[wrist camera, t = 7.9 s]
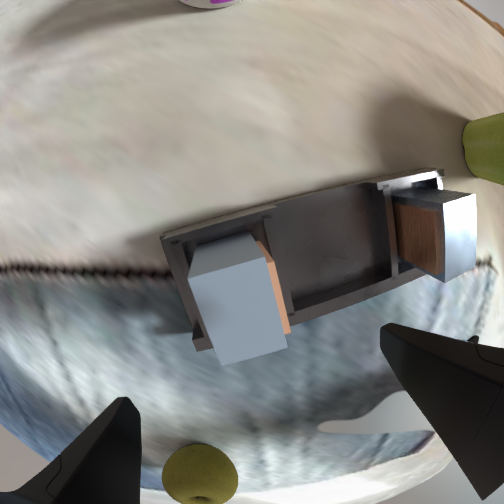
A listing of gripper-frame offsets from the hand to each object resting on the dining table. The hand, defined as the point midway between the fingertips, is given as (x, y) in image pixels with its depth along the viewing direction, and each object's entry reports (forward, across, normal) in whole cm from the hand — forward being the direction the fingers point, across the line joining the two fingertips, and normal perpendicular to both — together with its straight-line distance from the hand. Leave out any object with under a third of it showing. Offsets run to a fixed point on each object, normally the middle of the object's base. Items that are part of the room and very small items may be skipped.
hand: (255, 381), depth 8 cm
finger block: (+11, 0, 0) cm, 11 cm away
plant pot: (+12, -27, -5) cm, 30 cm away
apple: (+12, +10, +20) cm, 26 cm away
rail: (+12, -7, 0) cm, 14 cm away
